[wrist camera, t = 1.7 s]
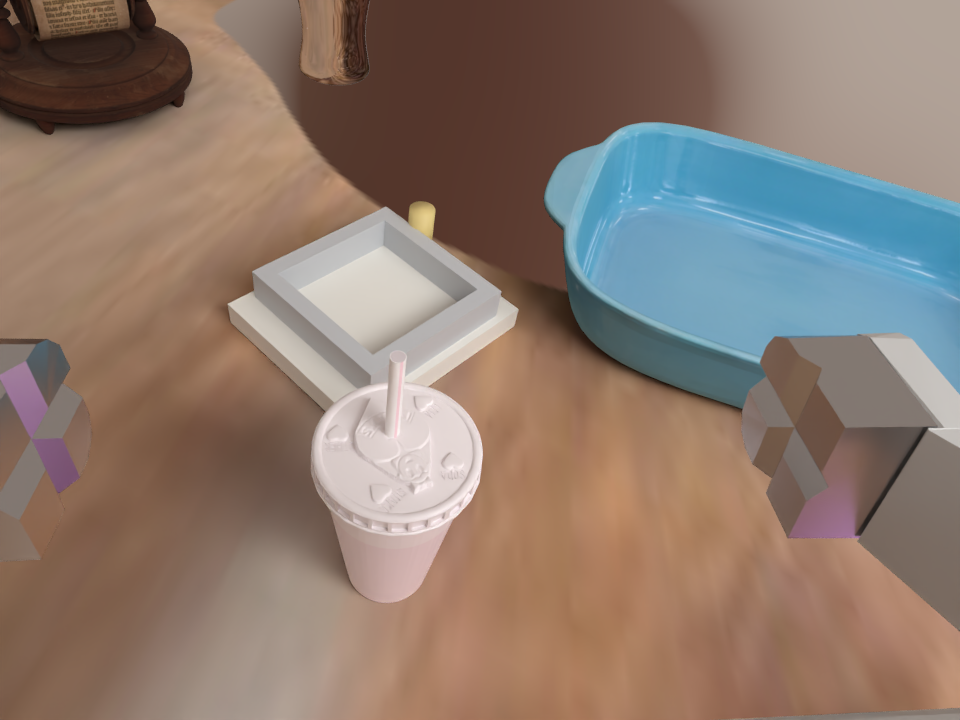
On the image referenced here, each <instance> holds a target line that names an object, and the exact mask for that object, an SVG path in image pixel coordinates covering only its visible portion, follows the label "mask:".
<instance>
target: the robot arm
mask: <svg viewBox="0 0 960 720" xmlns="http://www.w3.org/2000/svg"><path fill="white" fill-rule="evenodd" d="M760 364H761V366H762V368H763V370H764V372H765V374H766V377H765V378H764V379H762V380H761V381H760V382H759V383H757V384H756V385H755V386H754V387H752V388H751V389H750V390H749V392H748V395H747V398H746V401H745V404H744V407H743V410H742V436H743V440H744V445H745V449H746V451H747V453H748V455H749V457H750V460H751V462H752V464H753V465H754V466H756V467H757V468H758V469H760V470H761V471H762V472H764V473H765V474H767V475H768V476H769V477H771V478H772V479H771V481H770V484H769V486H768V489H767V492H766V494H767V496H768V498H769V500H770V502H771V504H772V506H773V509H774V511H775V513H776V515H777V517H778V519H779V521H780V523H781V525H782V527H783V529H784V531H785V534H786V536H787V538H859V539H858V541H857V542H859V543H860V544H861V545H862V546H863V547H864V548H865V549H867V550H868V551H869V552H870V553H871V554H872V555H873V556H875V557H876V558H877V559H878V560H879V561H880V562H881V563H883V564H884V565H885V566H886V567H887V568H888V569H889V570H890V571H892V572H893V573H894V574H895V575H896V576H897V577H898V578H900V579H901V580H902V581H903V582H904V583H905V584H906V585H908V586H909V587H910V588H911V589H912V590H913V591H914V592H915V593H917V594H918V595H919V596H920V597H921V598H922V599H923V600H925V601H926V602H927V603H928V604H929V605H930V606H931V607H933V608H934V609H935V610H936V611H937V612H938V613H939V614H940V615H942V616H943V617H944V618H945V619H946V620H947V621H948V622H950V623H951V624H952V625H953V626H954V627H955V628H956V629H958V630H959V631H960V395H959V393H958V392H957V391H956V390H955V389H954V388H953V386H952V385H951V384H950V383H949V382H948V380H947V379H946V378H945V377H944V376H943V375H942V373H941V372H940V371H939V370H938V369H937V368H936V366H935V365H934V364H933V363H932V362H931V361H930V359H929V358H928V357H927V356H926V355H925V354H924V352H923V351H922V350H921V349H920V348H919V346H918V345H917V344H916V343H915V342H914V341H913V339H911V338H909V337H907V336H905V335H903V334H901V333H872V334H857V335H828V336H775V337H774V338H773V339H772V340H771V341H770V342H769V343H768V345H767V346H766V348H765V350H764V353H763V355H762V358H761V360H760ZM69 370H70V366H69V364H68V362H67V360H66V358H65V356H64V354H63V351H62V349H61V347H60V345H58V344H56V343H54V342H52V341H50V340H48V339H0V561H19V560H37V559H42V558H43V556H44V553H45V551H46V549H47V547H48V545H49V543H50V541H51V539H52V537H53V534H54V532H55V530H56V528H57V526H58V524H59V522H60V520H61V517H62V515H63V513H64V511H65V507H64V505H63V503H62V501H61V498H60V496H59V494H58V493H60V492H61V491H63V490H64V489H65V488H67V487H68V486H69V485H71V484H72V483H73V482H75V481H76V480H77V479H79V478H80V477H81V474H82V472H83V470H84V467H85V465H86V463H87V461H88V458H89V453H90V445H91V437H92V429H91V422H90V416H89V412H88V410H87V407H86V405H85V402H84V400H83V398H82V397H81V396H80V395H78V394H77V393H76V392H74V391H73V390H71V389H70V388H69V387H67V386H66V385H64V384H63V381H64V379H65V377H66V375H67V373H68V371H69ZM720 720H960V708H947V709H927V710H907V711H886V712H866V713H845V714H825V715H804V716H783V717H762V718H741V719H720Z"/></svg>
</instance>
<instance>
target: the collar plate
mask: <svg viewBox="0 0 960 720" xmlns="http://www.w3.org/2000/svg"><path fill="white" fill-rule="evenodd" d="M434 218H435V208H434V206H433V205H432V204H430V203H427V202H423V201H419V202H415V203H412V204H411V205H410V208H409V220H408V222H406V221H405V220H404V219H402V218H401V217H400V216H398V215H397V214H395V213H394V212H393V211H391V210H390V209H389V208H387V207H384V208H382V209H380V210H378V211H376V212H374V213H372V214H370V215H368V216H366V217H363V218H361V219H359V220H357V221H355V222H353V223H351V224H349V225H347V226H345V227H343V228H341V229H339V230H337V231H334V232H332V233H330V234H328V235H326V236H324V237H322V238H320V239H318V240H316V241H314V242H312V243H310V244H308V245H305V246H303V247H301V248H299V249H297V250H295V251H293V252H291V253H289V254H287V255H285V256H283V257H281V258H279V259H276V260H274V261H272V262H270V263H268V264H266V265H264V266H262V267H260V268H258V269H256V270H254V271H252V275H253V283H254V291H252V292H250V293H248V294H246V295H244V296H242V297H240V298H238V299H236V300H234V301H232V302H230V303H228V309H229V315H230V321H231V323H232V324H233V325H234V326H235V327H236V328H237V329H238V330H239V331H240V332H241V333H243V334H244V335H245V336H246V337H247V338H248V339H249V340H250V341H251V342H252V343H253V344H254V345H255V346H256V347H257V348H259V349H260V350H261V351H262V352H263V353H264V354H265V355H266V356H267V357H268V358H269V359H270V360H271V361H272V362H273V363H275V364H276V365H277V366H278V367H279V368H280V369H281V370H282V371H283V372H284V373H285V374H286V375H287V376H288V377H289V378H290V379H292V380H293V381H294V382H295V383H296V384H297V385H298V386H299V387H300V388H301V389H302V390H303V391H304V392H305V393H306V394H308V395H309V396H310V397H311V398H312V399H313V400H314V401H315V402H316V403H317V404H318V405H319V406H320V407H321V408H322V409H324V410H325V411H327V410H328V409H329V408H330V407H331V406H332V405H333V404H334V403H335V402H336V401H337V400H339V399H340V398H342V397H343V396H345V395H346V394H348V393H350V392H352V391H354V390H356V389H359V388H361V387H364V386H367V385H371V384H375V383H381V382H388V375H389V360H390V354H391V353H392V352H393V351H397V350H398V351H403V352H404V353H405V354H406V356H407V359H406V370H405V381H404V382H410V383H416V384H420V385H424V386H427V387H428V386H429V385H431V384H432V383H434V382H435V381H437V380H438V379H439V378H441V377H442V376H444V375H445V374H447V373H448V372H449V371H451V370H452V369H454V368H455V367H457V366H458V365H459V364H461V363H462V362H464V361H465V360H467V359H468V358H469V357H471V356H472V355H474V354H475V353H477V352H478V351H479V350H481V349H482V348H484V347H485V346H487V345H488V344H489V343H491V342H492V341H494V340H495V339H497V338H498V337H500V336H501V335H502V334H504V333H505V332H507V331H508V330H510V329H511V328H512V327H514V325H515V321H516V317H517V313H518V308H516V307H515V306H514V305H512V304H511V303H510V302H508V301H507V300H505V299H504V298H503V297H501V291H500V290H499V289H498V288H496V287H495V286H494V285H492V284H491V283H490V282H488V281H487V280H485V279H484V278H483V277H481V276H480V275H479V274H477V273H476V272H475V271H473V270H472V269H470V268H469V267H468V266H466V265H465V264H464V263H462V262H461V261H460V260H458V259H457V258H455V257H454V256H453V255H451V254H450V253H449V252H447V251H446V250H445V249H443V248H442V247H440V246H439V245H438V244H436V243H435V242H434V241H432V236H433V226H434Z"/></svg>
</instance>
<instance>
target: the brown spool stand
mask: <svg viewBox="0 0 960 720" xmlns="http://www.w3.org/2000/svg"><path fill="white" fill-rule="evenodd" d="M6 2H7V0H0V107H1V108H3V109H5V110H7V111H9V112H12V113H15V114H17V115H20V116H24V117H27V118H31V119H35V120H36V122H37V124H38V125H39V127H40V128H41V129H42V130H43V131H44V132H45V133H46V134H52V133H53V132H54V128H55V122H56V123H69V124H87V123H102V122H110V121H117V120H123V119H128V118H132V117H136V116H139V115H143V114H146V113H149V112H151V111H154V110H156V109H158V108H161V107H163V106H165V105H167V104H168V103H170V102H173V103H174V105H175V106H177V107H181V106H182V105H183V101H184V94H185V93H184V91H185V90H186V88H187V87H188V85H189V83H190V81H191V78H192V66H191V61H190V55H189V52H188V50H187V48H186V46H185V45H184V44H183V43H182V42H181V41H180V40H179V39H178V38H177V37H175V36H174V35H173V34H171V33H169V32H168V31H166V30H164V29H162V28H159V27H157V26H155V23H156V18H155V15H154V13H153V11H152V10H151V8H150V6H149V4H148V2H147V0H10V3H11V5H12V7H13V9H14V11H15V14H16V16H17V18H18V20H19V21H20V23H17V24H15V25H13V26H12V25H11V23H10V22H9V21H8V19H7V18H8V17H9V16H10V15H11V13H10V11H9V10H8V9H6V8H4V7H3V6H4V5H5V4H6Z"/></svg>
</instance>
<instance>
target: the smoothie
mask: <svg viewBox="0 0 960 720" xmlns="http://www.w3.org/2000/svg"><path fill="white" fill-rule="evenodd" d="M406 359H407V356H406V354H405V353H404V352H403V351H398V350H397V351H393V352H392V353H391V354H390V360H389V375H388V382H381V383H375V384H371V385H367V386H364V387H361V388H359V389H356V390H354V391H352V392H350V393H348V394H346V395H345V396H343V397H342V398H340V399H339V400H337V401H336V402H335V403H334V404H333V405H332V406H331V407H330V408H329V409H328V410H327V411H326V412H325V414H324V415H323V416H322V418H321V419H320V421H319V423H318V425H317V427H316V429H315V432H314V435H313V440H312V448H311V475H312V478H313V481H314V484H315V487H316V490H317V493H318V494H319V496H320V497H321V498H322V500H323V501H324V503H325V504H326V505H327V507H328V508H329V510H330V512H331V515H332V519H333V522H334V526H335V530H336V533H337V537H338V540H339V544H340V547H341V551H342V554H343V558H344V562H345V565H346V569H347V572H348V576H349V579H350V581H351V583H352V585H353V586H354V588H355V589H356V590H357V591H358V592H359V593H360V594H361V595H363V596H364V597H366V598H368V599H370V600H372V601H375V602H380V603H393V602H398V601H401V600H403V599H405V598H407V597H409V596H410V595H412V594H413V593H414V592H415V591H416V590H417V589H418V588H419V587H420V586H421V584H422V582H423V580H424V578H425V576H426V574H427V572H428V570H429V568H430V566H431V564H432V562H433V560H434V558H435V556H436V553H437V551H438V549H439V547H440V545H441V543H442V541H443V539H444V537H445V535H446V533H447V531H448V529H449V527H450V525H451V523H452V520H453V518H455V517H457V516H458V515H459V513H460V512H461V511H462V510H463V509H464V508H465V507H466V506H467V505H468V503H469V502H470V501H471V500H472V497H473V495H474V493H475V491H476V489H477V487H478V485H479V481H480V474H481V466H482V457H483V450H482V442H481V438H480V435H479V432H478V429H477V427H476V425H475V423H474V422H473V420H472V419H471V417H470V416H469V415H468V413H467V412H466V411H465V410H464V409H463V408H462V407H461V406H460V405H459V404H458V403H457V402H455V401H454V400H453V399H451V398H450V397H448V396H447V395H445V394H443V393H441V392H439V391H437V390H435V389H433V388H430V387H427V386H424V385H420V384H416V383H410V382H404V381H405V370H406Z"/></svg>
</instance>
